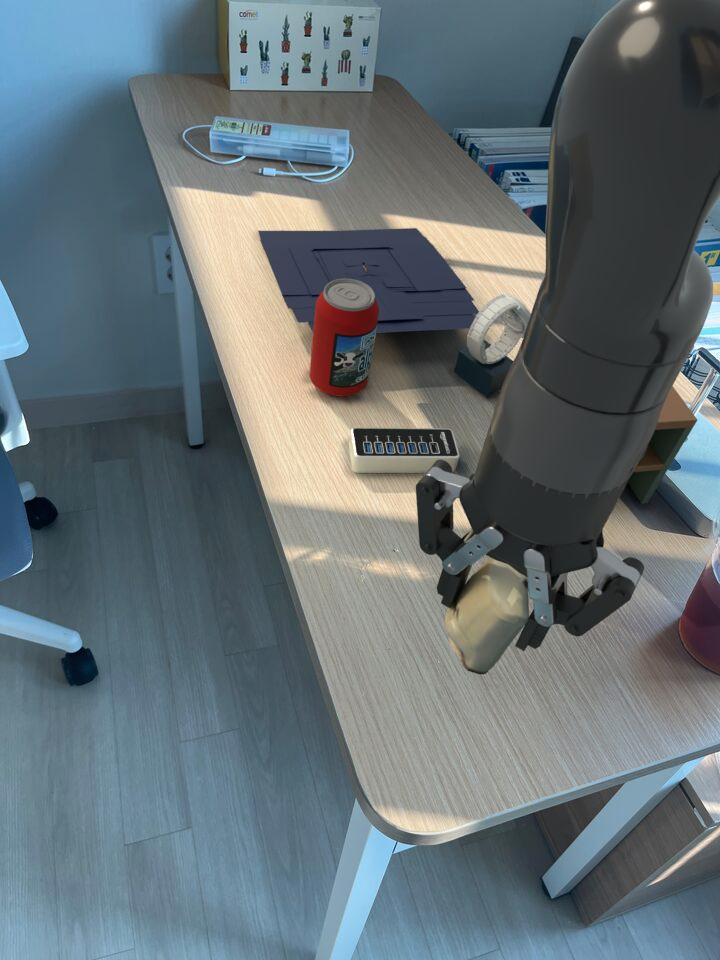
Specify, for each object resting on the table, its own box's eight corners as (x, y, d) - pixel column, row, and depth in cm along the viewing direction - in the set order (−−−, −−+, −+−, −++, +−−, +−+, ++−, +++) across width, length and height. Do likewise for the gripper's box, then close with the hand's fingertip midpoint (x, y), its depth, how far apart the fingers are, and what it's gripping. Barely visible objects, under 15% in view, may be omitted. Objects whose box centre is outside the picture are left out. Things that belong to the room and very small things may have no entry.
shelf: (647, 503, 80) (698, 419, 71) (570, 510, 78) (612, 425, 69) (603, 431, 87) (644, 347, 78) (531, 436, 85) (565, 350, 76)
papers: (296, 358, 87) (298, 330, 84) (255, 249, 108) (255, 224, 106) (491, 347, 93) (497, 320, 90) (415, 245, 114) (419, 222, 112)
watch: (521, 379, 92) (549, 302, 84) (476, 402, 87) (500, 324, 79) (488, 354, 94) (512, 277, 86) (442, 376, 90) (463, 297, 82)
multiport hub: (348, 442, 80) (350, 426, 79) (447, 443, 82) (452, 427, 81) (352, 472, 77) (355, 457, 76) (455, 473, 79) (460, 457, 78)
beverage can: (346, 410, 84) (359, 320, 75) (297, 384, 86) (304, 294, 77) (377, 379, 88) (393, 291, 79) (329, 356, 90) (340, 267, 81)
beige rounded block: (531, 666, 52) (566, 600, 47) (468, 693, 50) (497, 628, 45) (486, 601, 56) (514, 533, 50) (426, 624, 54) (447, 556, 48)
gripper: (407, 413, 38) (368, 602, 51) (681, 549, 34) (566, 720, 46) (472, 344, 43) (422, 533, 55) (721, 456, 38) (606, 634, 51)
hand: (488, 617), depth 51 cm, fingers closed on beige rounded block, 5 cm apart
